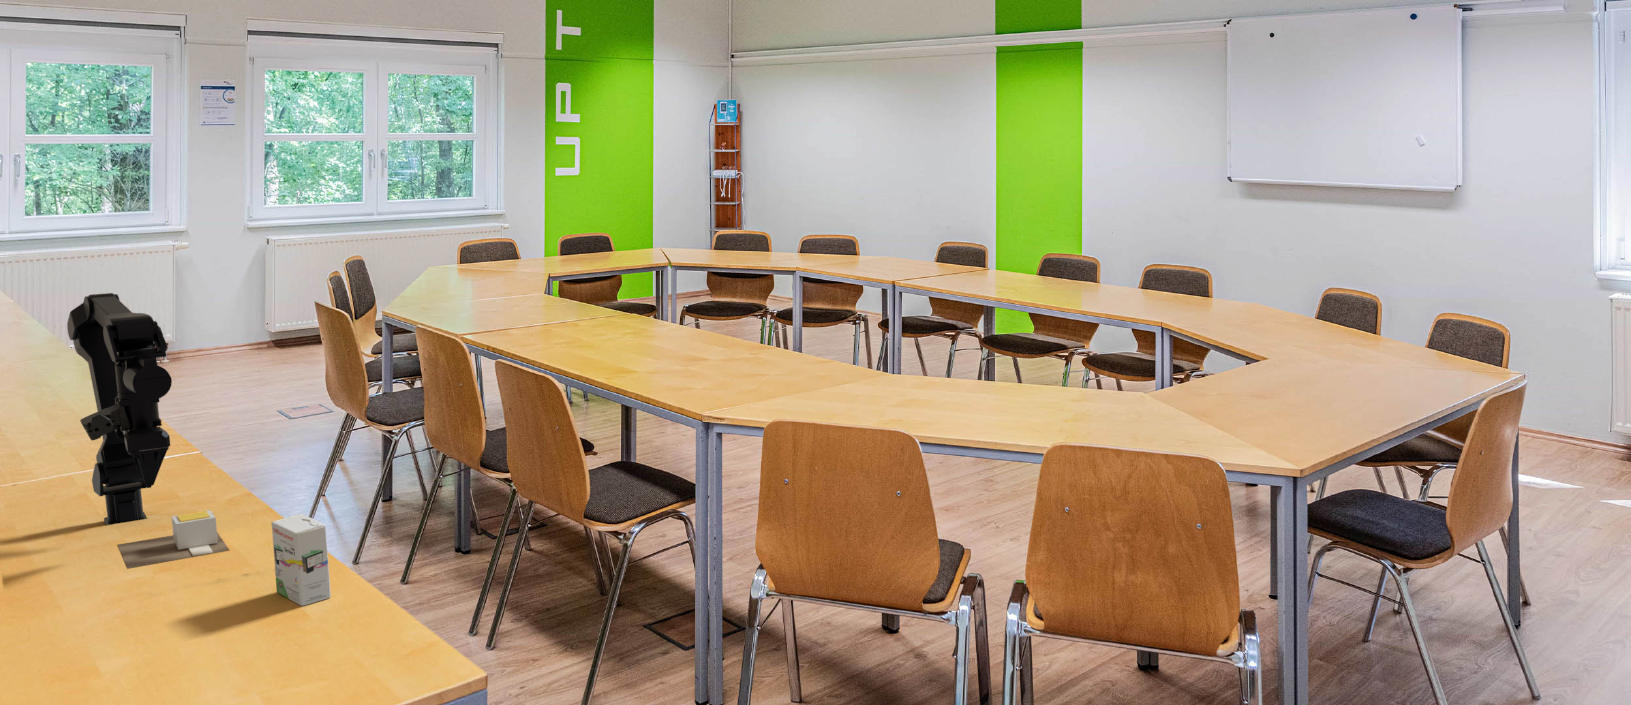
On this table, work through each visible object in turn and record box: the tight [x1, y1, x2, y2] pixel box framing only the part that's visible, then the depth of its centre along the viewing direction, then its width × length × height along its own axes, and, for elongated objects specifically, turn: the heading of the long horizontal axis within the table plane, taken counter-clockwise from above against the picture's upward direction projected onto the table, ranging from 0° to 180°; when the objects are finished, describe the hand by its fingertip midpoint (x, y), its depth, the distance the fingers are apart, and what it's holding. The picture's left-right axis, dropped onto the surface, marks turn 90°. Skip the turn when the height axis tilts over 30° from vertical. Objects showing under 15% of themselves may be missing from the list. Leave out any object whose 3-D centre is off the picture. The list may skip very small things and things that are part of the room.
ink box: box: [271, 513, 332, 607], centre depth 183 cm, size 8×5×12 cm, turn 49°
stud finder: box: [171, 509, 218, 550], centre depth 203 cm, size 5×6×5 cm
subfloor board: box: [117, 532, 230, 570], centre depth 202 cm, size 14×15×1 cm
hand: (145, 479), depth 204 cm, fingers open, 9 cm apart
